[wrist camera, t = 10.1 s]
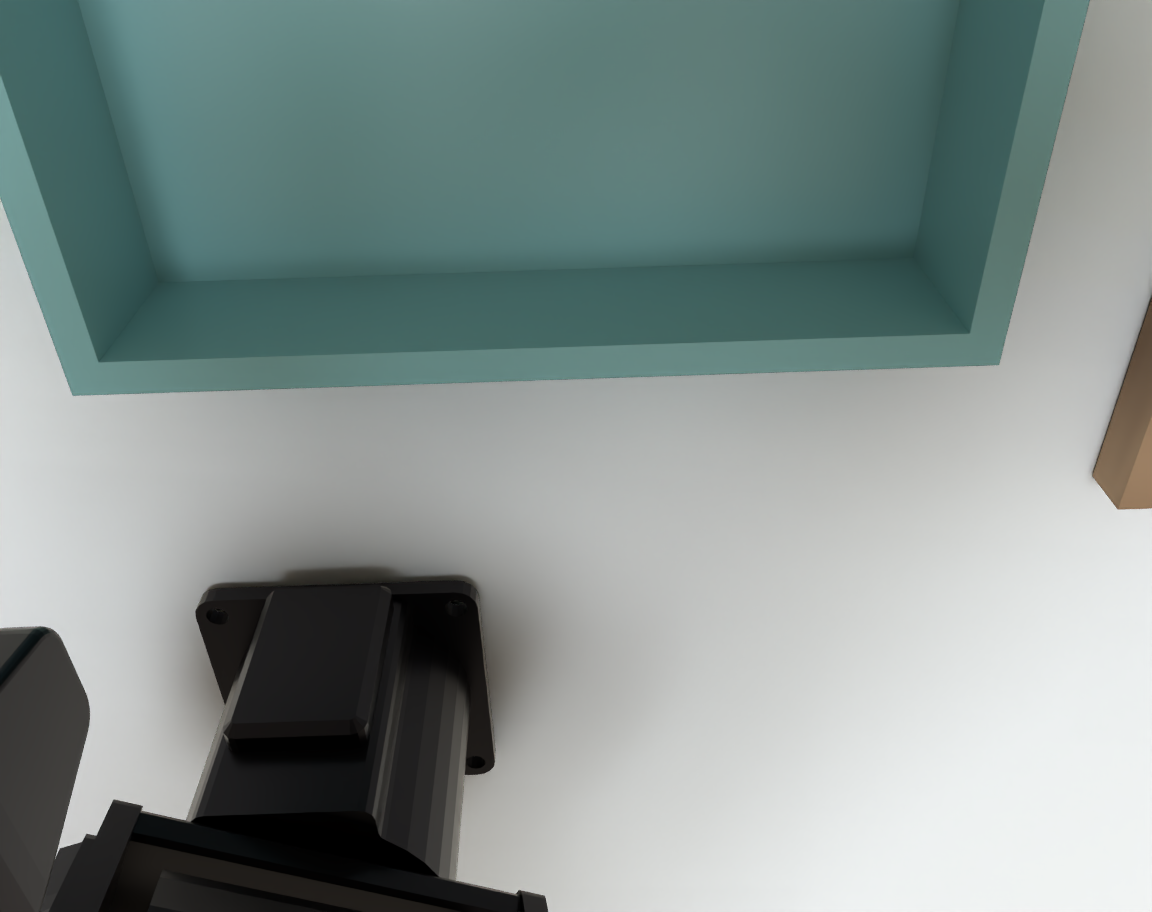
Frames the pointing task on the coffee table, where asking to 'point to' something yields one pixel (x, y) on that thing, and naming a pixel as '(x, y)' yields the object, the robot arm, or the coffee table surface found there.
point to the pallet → (1131, 433)
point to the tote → (523, 185)
